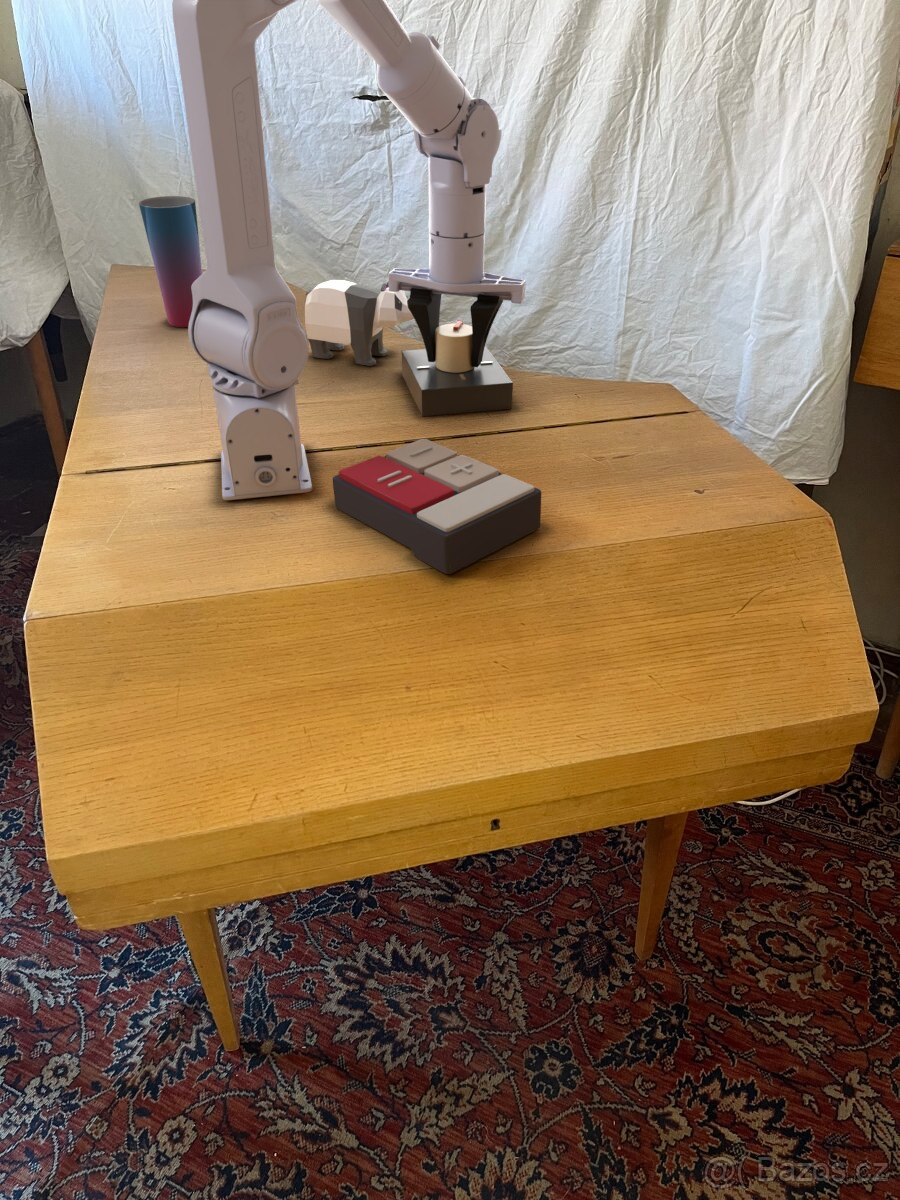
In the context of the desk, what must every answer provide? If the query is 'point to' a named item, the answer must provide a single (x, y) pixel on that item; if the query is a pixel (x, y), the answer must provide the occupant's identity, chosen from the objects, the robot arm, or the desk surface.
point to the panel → (456, 385)
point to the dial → (453, 347)
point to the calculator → (438, 503)
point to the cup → (174, 252)
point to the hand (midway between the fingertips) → (455, 361)
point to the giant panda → (352, 318)
